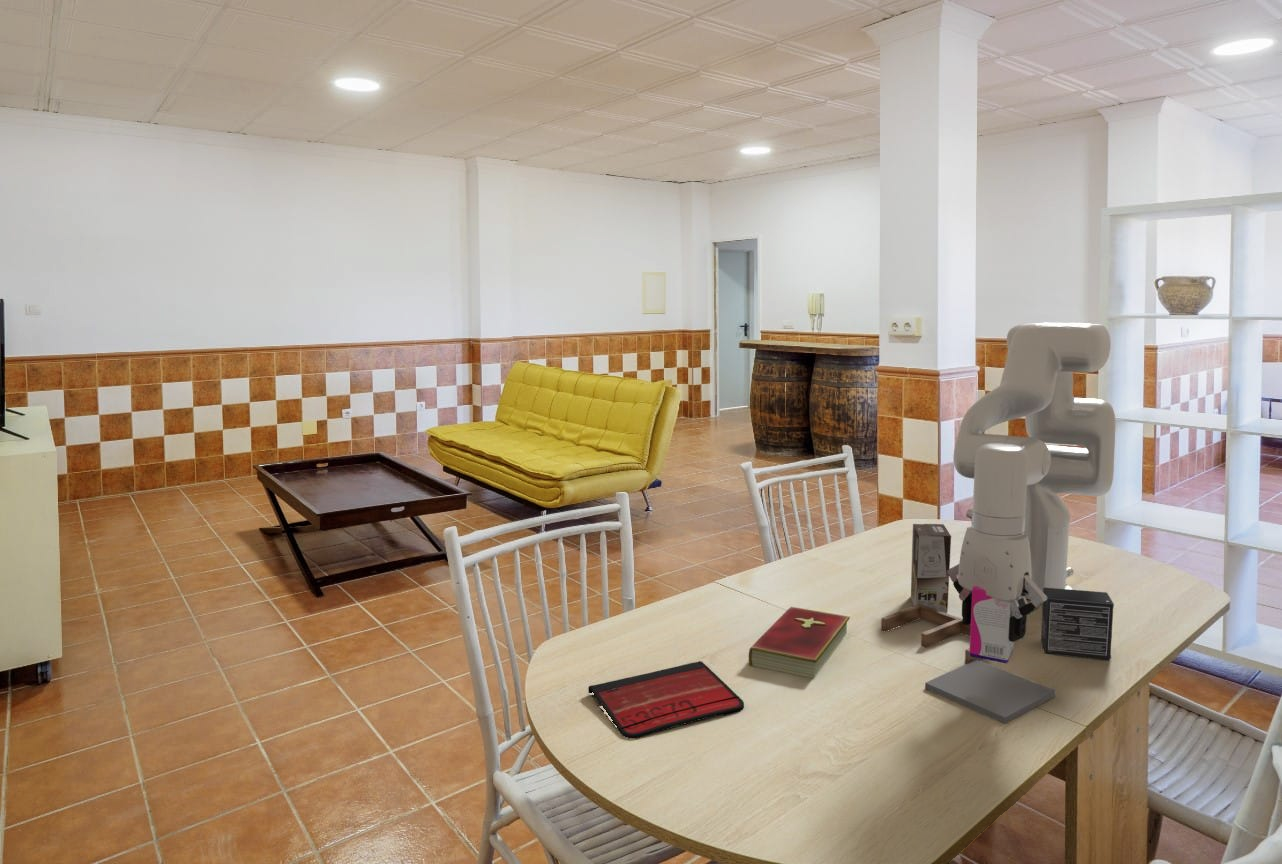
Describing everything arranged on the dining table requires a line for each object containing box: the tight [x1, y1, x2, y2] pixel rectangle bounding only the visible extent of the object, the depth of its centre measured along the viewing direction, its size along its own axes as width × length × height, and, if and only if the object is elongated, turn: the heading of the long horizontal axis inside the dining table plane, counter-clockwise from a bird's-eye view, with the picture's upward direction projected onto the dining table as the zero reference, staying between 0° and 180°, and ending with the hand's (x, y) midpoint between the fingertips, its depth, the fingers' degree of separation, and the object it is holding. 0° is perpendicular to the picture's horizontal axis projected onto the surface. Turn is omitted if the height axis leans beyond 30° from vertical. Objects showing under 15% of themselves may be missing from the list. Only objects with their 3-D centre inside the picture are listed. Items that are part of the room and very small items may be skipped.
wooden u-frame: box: [880, 604, 984, 665], centre depth 153 cm, size 12×19×2 cm, turn 35°
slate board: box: [924, 660, 1057, 725], centre depth 133 cm, size 14×14×1 cm
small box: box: [1040, 588, 1115, 661], centre depth 147 cm, size 11×6×10 cm, turn 71°
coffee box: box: [910, 523, 952, 614], centre depth 169 cm, size 9×6×16 cm
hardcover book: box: [748, 606, 851, 679], centre depth 150 cm, size 12×21×4 cm, turn 151°
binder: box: [587, 660, 745, 739], centre depth 132 cm, size 16×2×21 cm
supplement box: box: [969, 586, 1014, 664], centre depth 131 cm, size 6×6×12 cm
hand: (992, 630), depth 131 cm, fingers closed on supplement box, 7 cm apart
